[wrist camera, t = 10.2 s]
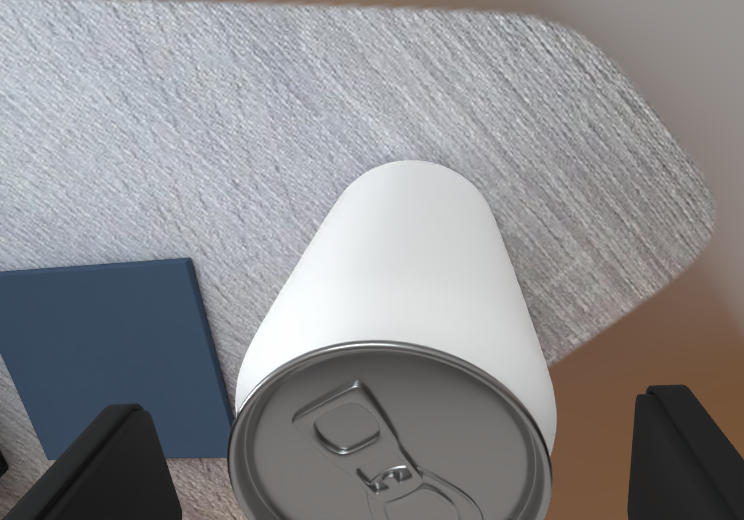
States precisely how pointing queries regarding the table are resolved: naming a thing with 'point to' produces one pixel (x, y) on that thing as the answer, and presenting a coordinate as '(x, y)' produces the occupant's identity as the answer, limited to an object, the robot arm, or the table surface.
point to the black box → (2, 465)
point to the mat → (115, 352)
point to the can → (397, 367)
